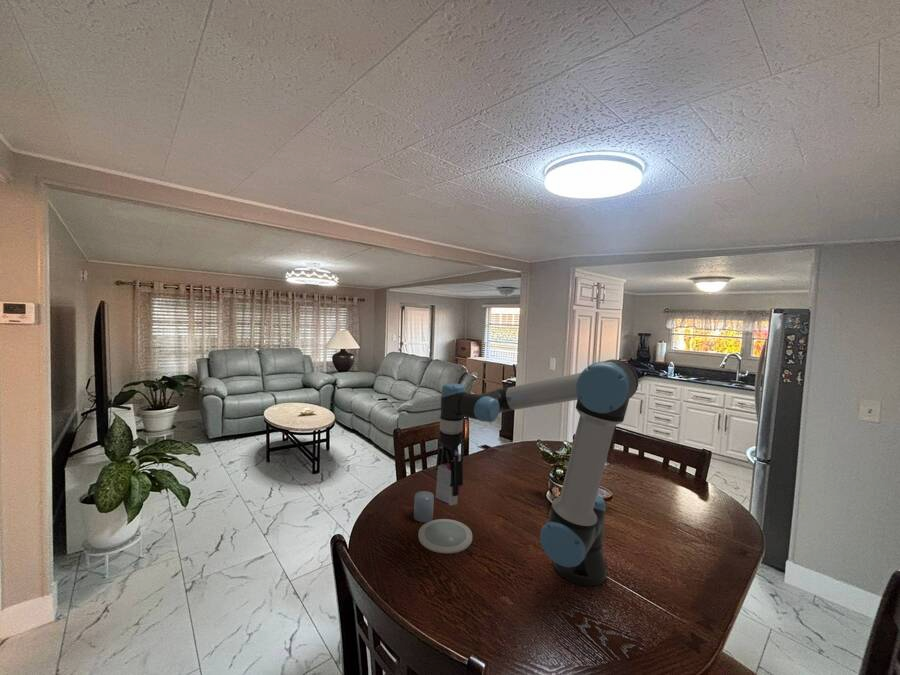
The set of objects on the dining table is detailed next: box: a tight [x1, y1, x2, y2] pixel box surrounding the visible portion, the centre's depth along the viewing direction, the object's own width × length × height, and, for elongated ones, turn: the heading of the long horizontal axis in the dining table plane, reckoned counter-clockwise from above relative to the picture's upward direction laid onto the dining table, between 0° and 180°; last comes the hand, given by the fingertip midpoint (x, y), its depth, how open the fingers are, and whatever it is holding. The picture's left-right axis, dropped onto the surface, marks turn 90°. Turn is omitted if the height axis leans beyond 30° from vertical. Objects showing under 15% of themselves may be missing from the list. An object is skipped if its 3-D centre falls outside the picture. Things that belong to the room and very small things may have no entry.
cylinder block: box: [413, 490, 435, 523], centre depth 136 cm, size 7×7×8 cm
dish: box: [417, 518, 473, 555], centre depth 125 cm, size 18×18×1 cm
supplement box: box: [435, 463, 461, 506], centre depth 124 cm, size 6×6×12 cm
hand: (447, 498), depth 124 cm, fingers closed on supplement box, 7 cm apart
